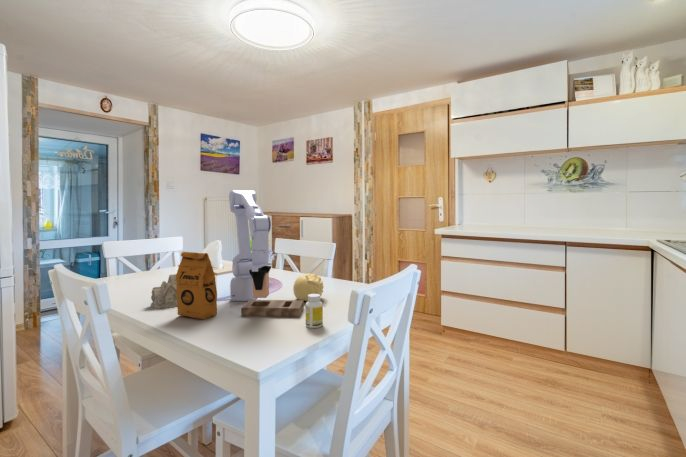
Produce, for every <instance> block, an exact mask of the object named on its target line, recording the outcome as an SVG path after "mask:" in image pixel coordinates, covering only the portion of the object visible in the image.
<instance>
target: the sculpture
mask: <svg viewBox="0 0 686 457" xmlns="http://www.w3.org/2000/svg"><path fill="white" fill-rule="evenodd" d="M323 282H324V281H323V280H322V277H321V276H319V275H317V274H316V273H311V272H307V273H305V274H302V275H299V277H296V279H295V281H294V282H293V288H292V290H293V291H292V292H293V295H294V296H295V298H296V299H297V300H304V301H305V302H308V301H309V300H308V295H309V294H320V297H321V296H322V294H323V292H324V283H323Z"/></svg>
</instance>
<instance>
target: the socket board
mask: <svg viewBox="0 0 686 457" xmlns="http://www.w3.org/2000/svg"><path fill="white" fill-rule="evenodd" d="M304 306H305V304H304V300H298V299H297V300H296V299H255V300H249V301H246V302H245V304H244V305H242V306H241V307H240V315H241V316H240V317H263V318H264V317H270V318H271V317H272V318H273V317H275V318H278V317H279V318H300V317H301V314H302V312H303V310H304V309H305V308H304Z"/></svg>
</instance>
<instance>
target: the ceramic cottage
mask: <svg viewBox="0 0 686 457" xmlns="http://www.w3.org/2000/svg"><path fill="white" fill-rule="evenodd" d="M176 274H177V273H175V274H169V276H168V279H167V281H166V280H163V281H162V283H161V284H160V286H154V287H153V288H152V289H151V295H150V296H151V297H150V299H151V301H152V302H151V303H150V307H152V308H153V309H167V308H176V307H177V282H176Z"/></svg>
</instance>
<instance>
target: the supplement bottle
mask: <svg viewBox="0 0 686 457" xmlns="http://www.w3.org/2000/svg"><path fill="white" fill-rule="evenodd" d="M308 300H309V301H306V302H305V327H307V328H310V329H316V328H317V329H319V328H321V327H322V326H323V323H324V321H323V319H324V317H323V314H324V313H323V312H324V311H323V309H324V308H323V307H324V306H323V304H324V303H323V302H322V301H321V296H320V294H309V295H308Z"/></svg>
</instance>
